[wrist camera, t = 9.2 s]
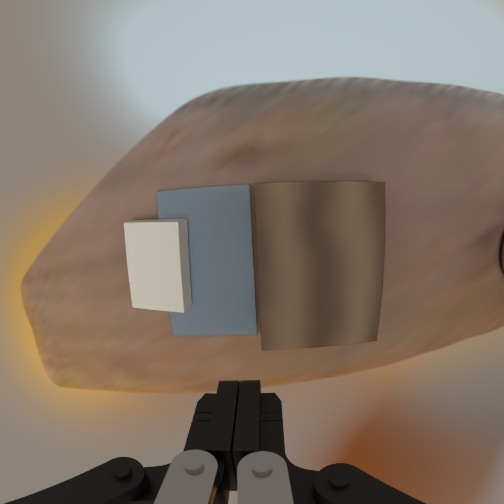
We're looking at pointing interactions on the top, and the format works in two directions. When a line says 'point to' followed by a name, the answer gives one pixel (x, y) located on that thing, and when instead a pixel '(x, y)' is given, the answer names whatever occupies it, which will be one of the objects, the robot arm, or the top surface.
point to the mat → (215, 259)
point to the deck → (319, 262)
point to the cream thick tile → (158, 264)
